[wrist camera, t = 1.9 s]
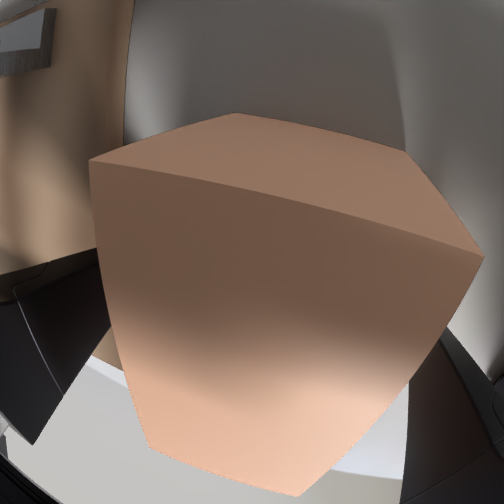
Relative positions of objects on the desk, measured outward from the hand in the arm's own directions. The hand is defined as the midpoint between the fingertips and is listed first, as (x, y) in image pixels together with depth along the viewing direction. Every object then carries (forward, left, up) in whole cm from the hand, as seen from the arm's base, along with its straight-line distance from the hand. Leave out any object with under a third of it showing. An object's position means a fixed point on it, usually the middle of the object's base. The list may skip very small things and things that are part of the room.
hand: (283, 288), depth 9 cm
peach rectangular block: (0, 0, -2) cm, 2 cm away
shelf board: (+13, 0, -1) cm, 13 cm away
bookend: (+13, -7, 0) cm, 15 cm away
